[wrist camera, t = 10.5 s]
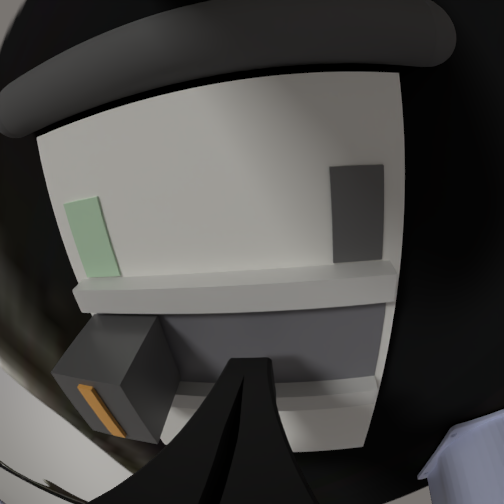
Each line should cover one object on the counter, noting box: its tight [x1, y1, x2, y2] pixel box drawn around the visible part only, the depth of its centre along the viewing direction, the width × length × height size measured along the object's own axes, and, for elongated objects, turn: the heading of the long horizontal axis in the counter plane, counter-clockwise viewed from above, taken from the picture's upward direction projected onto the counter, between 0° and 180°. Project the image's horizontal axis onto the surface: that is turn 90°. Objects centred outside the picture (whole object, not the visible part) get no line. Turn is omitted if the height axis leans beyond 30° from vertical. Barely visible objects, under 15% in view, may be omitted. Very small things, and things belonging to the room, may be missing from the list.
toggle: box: [51, 314, 181, 444], centre depth 10 cm, size 3×3×4 cm
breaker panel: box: [37, 72, 405, 452], centre depth 12 cm, size 18×12×2 cm, turn 7°
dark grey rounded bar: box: [0, 0, 456, 138], centre depth 7 cm, size 2×16×2 cm, turn 97°
